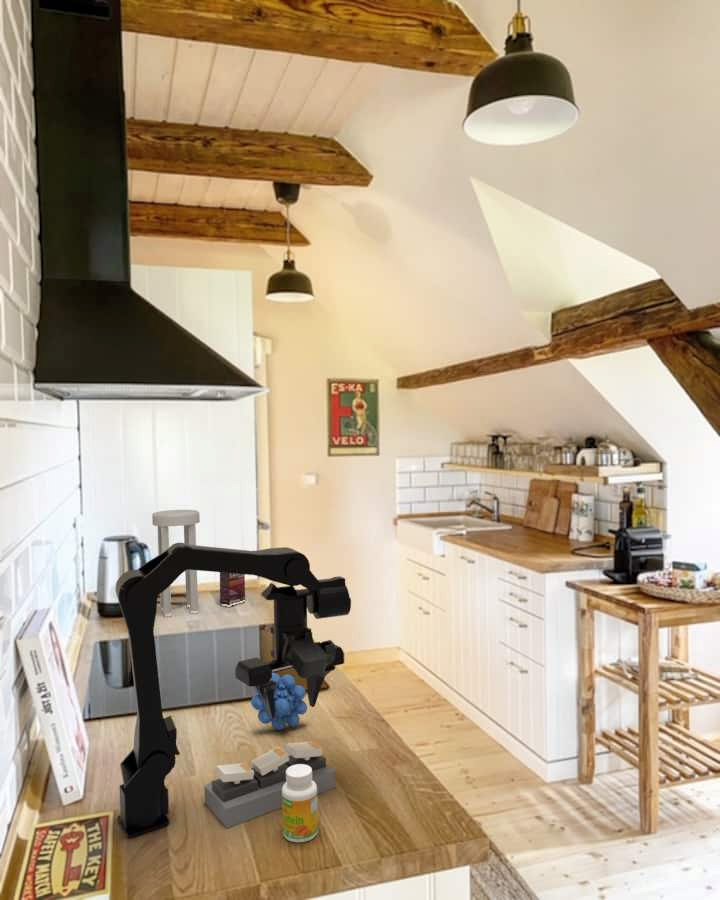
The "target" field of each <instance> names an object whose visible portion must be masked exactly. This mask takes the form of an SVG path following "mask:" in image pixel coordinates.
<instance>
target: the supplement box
mask: <svg viewBox="0 0 720 900" xmlns="http://www.w3.org/2000/svg"><path fill="white" fill-rule="evenodd" d="M245 575H246V574H235V573H223V572H219V605H220V604H227V605H230V604H233V603H237V602H240V601H243V600H245V601H246V584H245V583H246V579H245V578H246V577H245Z"/></svg>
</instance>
